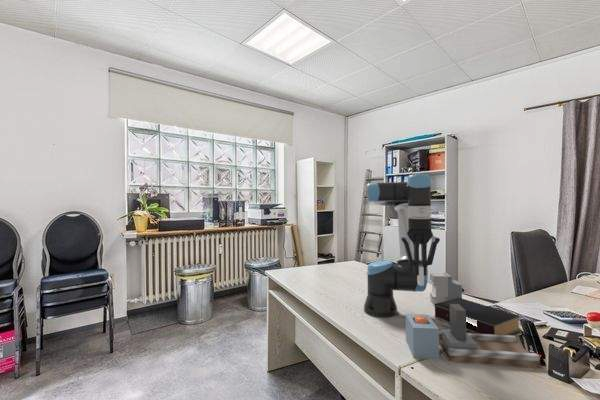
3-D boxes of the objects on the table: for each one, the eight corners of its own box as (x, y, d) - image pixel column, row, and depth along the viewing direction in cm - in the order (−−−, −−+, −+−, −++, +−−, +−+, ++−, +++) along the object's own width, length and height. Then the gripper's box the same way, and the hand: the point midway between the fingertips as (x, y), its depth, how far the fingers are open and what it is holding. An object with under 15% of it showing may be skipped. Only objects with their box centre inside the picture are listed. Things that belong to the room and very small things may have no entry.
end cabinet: (413, 357, 95) (413, 327, 95) (406, 340, 107) (405, 313, 107) (439, 359, 94) (438, 328, 94) (428, 341, 106) (428, 314, 106)
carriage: (450, 351, 94) (450, 311, 94) (441, 337, 104) (440, 301, 104) (477, 353, 93) (476, 313, 93) (465, 339, 103) (464, 302, 103)
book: (494, 343, 105) (494, 325, 105) (434, 319, 127) (434, 304, 127) (519, 332, 113) (519, 315, 113) (458, 311, 135) (458, 297, 135)
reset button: (416, 332, 99) (416, 319, 99) (413, 327, 103) (413, 315, 103) (428, 332, 98) (428, 320, 98) (425, 327, 102) (425, 315, 102)
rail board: (450, 361, 92) (449, 350, 92) (436, 340, 106) (436, 331, 106) (540, 368, 88) (540, 356, 88) (513, 345, 102) (513, 335, 102)
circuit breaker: (465, 308, 138) (465, 277, 138) (434, 306, 141) (433, 275, 141) (460, 302, 145) (459, 273, 145) (430, 301, 148) (429, 272, 148)
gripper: (402, 218, 99) (403, 287, 99) (442, 218, 97) (443, 288, 97) (398, 217, 106) (399, 280, 106) (435, 217, 104) (436, 282, 104)
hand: (420, 284), depth 101 cm, fingers closed
